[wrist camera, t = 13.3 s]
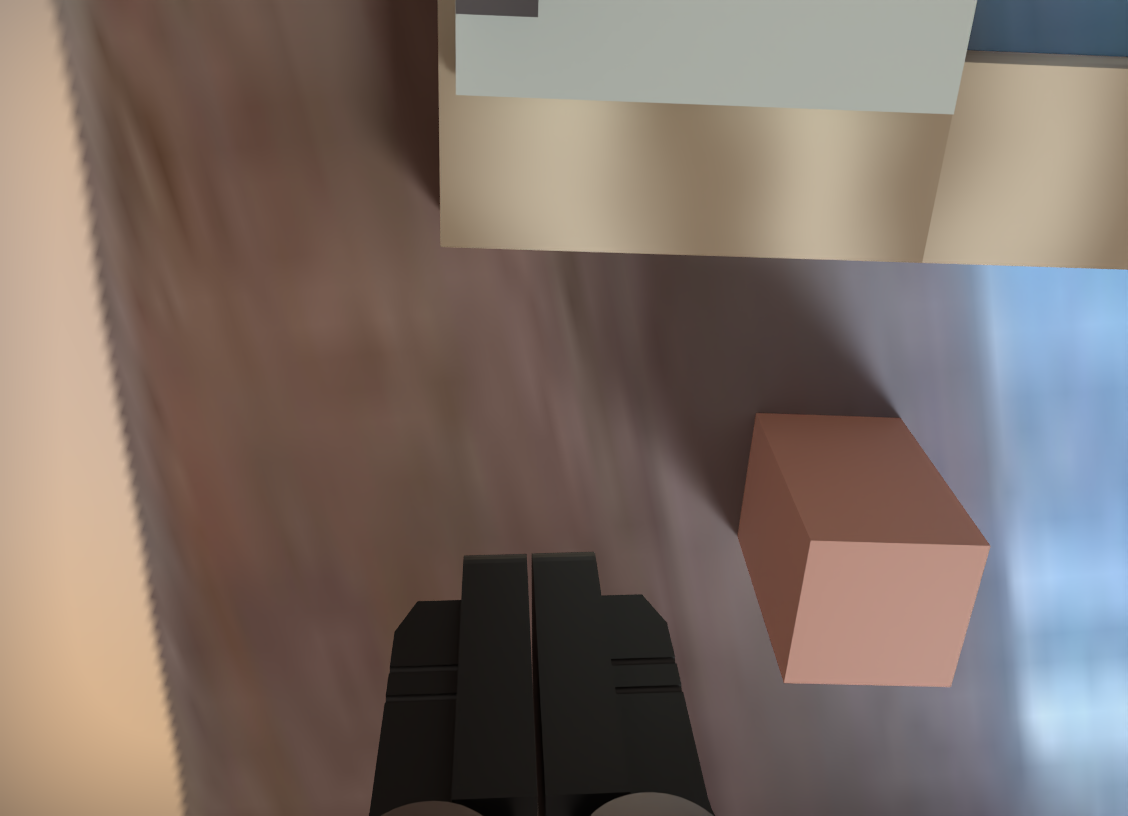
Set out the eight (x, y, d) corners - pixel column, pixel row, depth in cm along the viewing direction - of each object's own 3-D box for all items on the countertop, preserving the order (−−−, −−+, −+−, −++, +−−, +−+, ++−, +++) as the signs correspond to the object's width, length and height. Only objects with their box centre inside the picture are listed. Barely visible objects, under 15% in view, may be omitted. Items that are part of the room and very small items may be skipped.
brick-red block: (900, 417, 32) (990, 545, 25) (873, 540, 34) (950, 686, 27) (755, 412, 31) (810, 540, 25) (737, 535, 33) (783, 682, 27)
